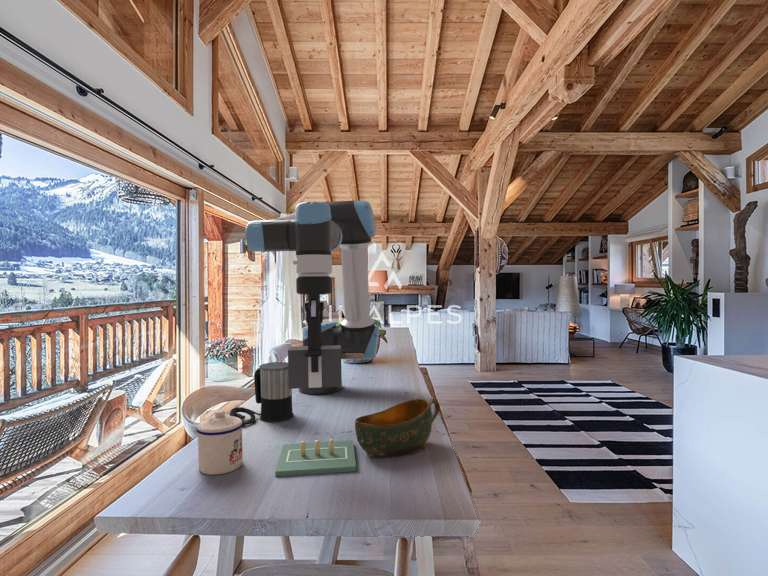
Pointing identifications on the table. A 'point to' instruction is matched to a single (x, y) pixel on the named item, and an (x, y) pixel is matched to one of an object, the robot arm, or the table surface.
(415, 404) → the green gold gravy boat
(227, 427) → the teacup with lid
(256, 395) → the milk frother
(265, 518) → the table surface
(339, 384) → the block
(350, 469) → the pin board
